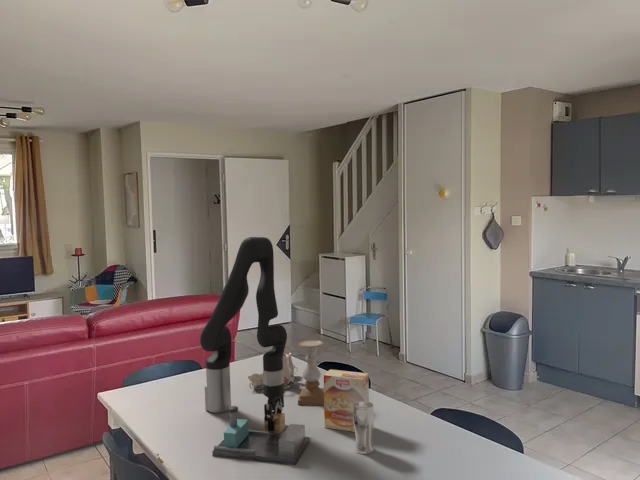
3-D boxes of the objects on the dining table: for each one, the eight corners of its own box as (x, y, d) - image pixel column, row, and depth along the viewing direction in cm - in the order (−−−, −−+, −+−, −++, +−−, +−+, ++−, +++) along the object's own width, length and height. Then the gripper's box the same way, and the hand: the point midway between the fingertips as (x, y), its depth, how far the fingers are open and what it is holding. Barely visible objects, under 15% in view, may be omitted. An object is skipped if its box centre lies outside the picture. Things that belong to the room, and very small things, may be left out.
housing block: (264, 431, 183) (264, 417, 183) (269, 425, 188) (269, 412, 187) (280, 432, 181) (280, 418, 181) (285, 427, 186) (284, 413, 186)
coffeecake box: (324, 427, 184) (322, 374, 183) (330, 420, 191) (329, 368, 190) (364, 433, 179) (363, 379, 178) (369, 425, 185) (368, 372, 184)
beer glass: (351, 445, 170) (351, 401, 169) (372, 444, 171) (371, 400, 170) (355, 455, 163) (354, 409, 162) (376, 454, 164) (375, 408, 163)
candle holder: (327, 395, 216) (325, 339, 214) (324, 405, 205) (323, 346, 203) (301, 395, 217) (299, 339, 215) (297, 405, 206) (295, 346, 204)
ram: (222, 447, 167) (221, 414, 167) (236, 432, 178) (235, 401, 177) (235, 448, 166) (234, 415, 165) (248, 433, 177) (247, 402, 176)
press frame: (212, 455, 166) (211, 436, 165) (233, 434, 181) (232, 416, 181) (295, 464, 159) (294, 444, 158) (309, 441, 174) (309, 422, 174)
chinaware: (284, 376, 247) (281, 341, 247) (312, 378, 237) (308, 343, 237) (243, 394, 224) (239, 356, 224) (272, 398, 214) (267, 358, 214)
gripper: (270, 374, 191) (272, 417, 192) (256, 387, 177) (258, 433, 179) (289, 375, 189) (291, 418, 190) (276, 388, 176) (278, 435, 177)
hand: (275, 425), depth 184 cm, fingers open, 7 cm apart
